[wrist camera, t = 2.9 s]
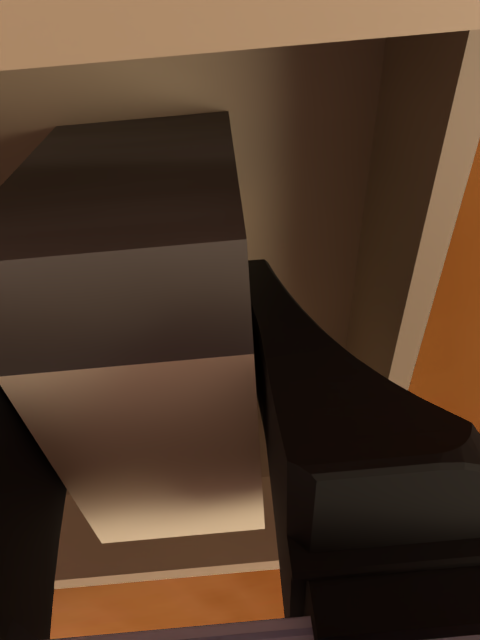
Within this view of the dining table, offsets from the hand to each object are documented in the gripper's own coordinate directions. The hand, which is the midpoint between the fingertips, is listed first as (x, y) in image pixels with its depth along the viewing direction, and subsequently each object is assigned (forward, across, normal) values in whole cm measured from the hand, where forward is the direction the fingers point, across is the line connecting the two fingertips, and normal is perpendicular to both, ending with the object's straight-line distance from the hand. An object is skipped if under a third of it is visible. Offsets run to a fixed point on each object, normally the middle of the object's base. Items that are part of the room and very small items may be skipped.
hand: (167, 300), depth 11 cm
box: (+2, 0, 0) cm, 2 cm away
